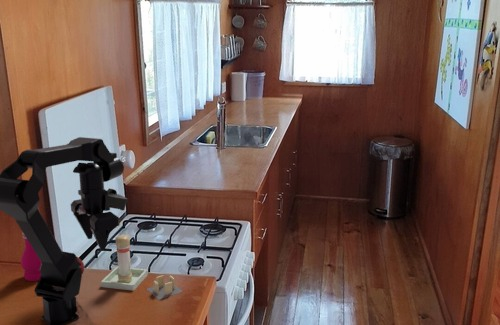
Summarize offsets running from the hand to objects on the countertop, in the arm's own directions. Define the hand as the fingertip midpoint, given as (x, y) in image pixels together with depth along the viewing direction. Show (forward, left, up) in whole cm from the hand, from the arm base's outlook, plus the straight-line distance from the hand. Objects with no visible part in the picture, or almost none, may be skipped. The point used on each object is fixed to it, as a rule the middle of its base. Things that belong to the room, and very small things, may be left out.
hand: (96, 244), depth 128 cm
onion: (-2, +10, -13) cm, 17 cm away
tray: (+6, -3, -13) cm, 15 cm away
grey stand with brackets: (+10, -15, -13) cm, 22 cm away
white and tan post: (+6, -3, -12) cm, 13 cm away
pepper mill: (-8, +20, -13) cm, 25 cm away
